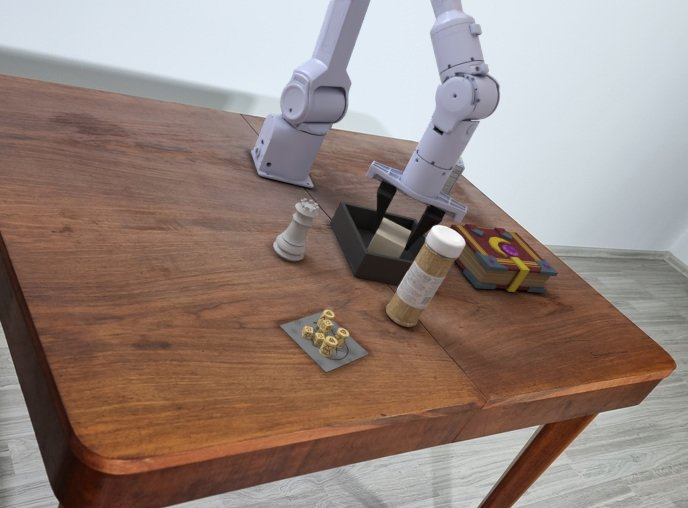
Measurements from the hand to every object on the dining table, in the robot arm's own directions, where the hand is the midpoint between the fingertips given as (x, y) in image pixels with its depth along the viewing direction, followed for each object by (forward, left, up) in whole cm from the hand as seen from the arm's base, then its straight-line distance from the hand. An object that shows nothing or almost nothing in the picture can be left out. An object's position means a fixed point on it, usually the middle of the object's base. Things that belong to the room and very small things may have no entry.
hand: (390, 239), depth 103 cm
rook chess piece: (-16, -4, -3) cm, 17 cm away
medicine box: (+17, +24, -3) cm, 30 cm away
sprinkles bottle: (-2, -14, -3) cm, 15 cm away
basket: (0, 0, -3) cm, 3 cm away
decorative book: (+22, +3, -3) cm, 23 cm away
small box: (0, 0, -3) cm, 3 cm away
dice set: (-15, -21, -3) cm, 26 cm away
